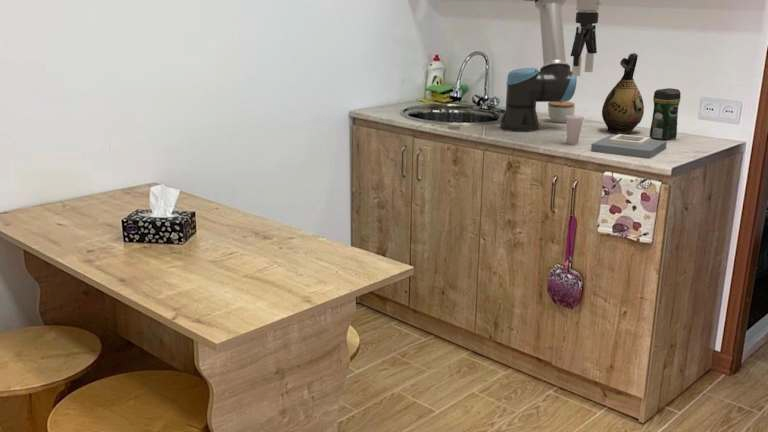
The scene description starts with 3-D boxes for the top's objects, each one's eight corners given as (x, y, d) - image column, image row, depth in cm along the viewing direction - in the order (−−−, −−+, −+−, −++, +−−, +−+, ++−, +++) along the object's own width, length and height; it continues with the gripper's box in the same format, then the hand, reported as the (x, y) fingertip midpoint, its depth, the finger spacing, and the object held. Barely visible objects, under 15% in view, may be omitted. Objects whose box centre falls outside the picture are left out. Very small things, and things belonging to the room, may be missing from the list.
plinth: (590, 150, 265) (591, 139, 264) (609, 141, 281) (610, 130, 280) (649, 158, 254) (651, 146, 253) (665, 148, 270) (667, 137, 269)
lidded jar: (547, 118, 328) (549, 96, 325) (573, 120, 325) (575, 97, 322) (546, 123, 318) (547, 100, 315) (572, 124, 315) (574, 101, 312)
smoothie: (561, 141, 280) (564, 103, 276) (578, 141, 281) (581, 103, 277) (566, 145, 274) (569, 106, 270) (584, 145, 275) (587, 105, 271)
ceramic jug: (635, 137, 290) (644, 56, 281) (595, 132, 298) (602, 53, 289) (647, 130, 304) (655, 52, 295) (608, 126, 312) (615, 50, 303)
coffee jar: (662, 135, 294) (667, 86, 288) (679, 138, 287) (685, 88, 282) (645, 137, 289) (650, 88, 283) (662, 141, 282) (668, 90, 277)
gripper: (586, 12, 253) (581, 78, 259) (609, 10, 273) (603, 71, 279) (564, 12, 257) (559, 76, 263) (588, 10, 277) (583, 69, 283)
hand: (582, 73), depth 271 cm, fingers open, 13 cm apart
